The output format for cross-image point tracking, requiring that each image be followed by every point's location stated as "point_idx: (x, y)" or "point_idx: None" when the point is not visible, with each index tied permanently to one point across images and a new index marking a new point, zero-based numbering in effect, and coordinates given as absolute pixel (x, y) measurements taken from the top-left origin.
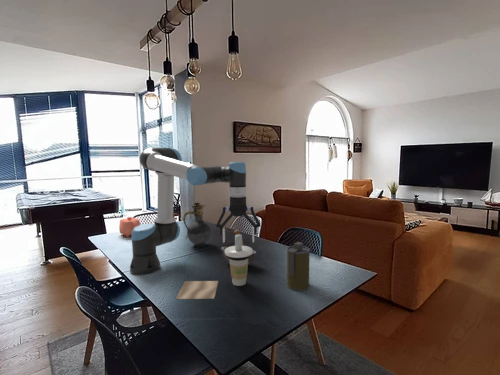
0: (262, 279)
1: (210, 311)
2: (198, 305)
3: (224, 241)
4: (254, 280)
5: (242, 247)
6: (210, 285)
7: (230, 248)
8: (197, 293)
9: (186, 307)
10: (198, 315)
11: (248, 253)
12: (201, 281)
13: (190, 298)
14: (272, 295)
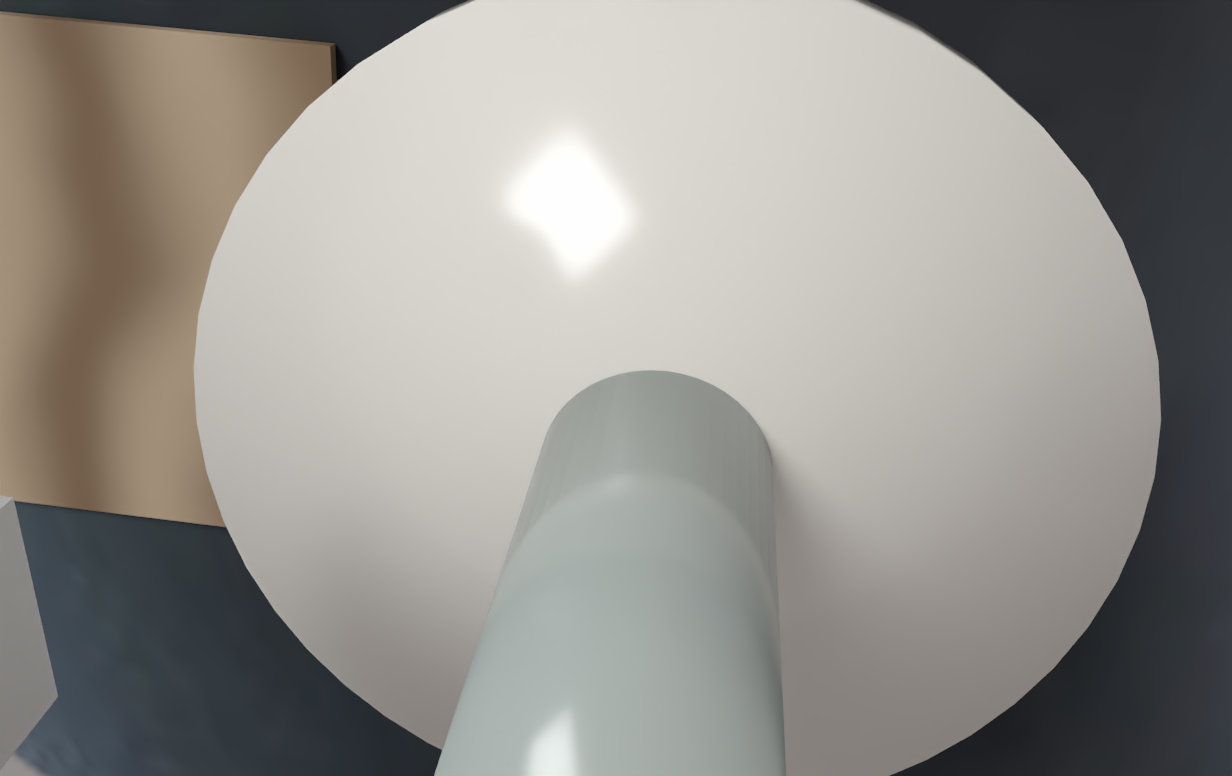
0: (1170, 48)
1: (360, 726)
2: (207, 617)
3: (31, 718)
4: (1000, 72)
5: (822, 237)
6: (230, 202)
7: (368, 285)
8: (110, 402)
9: (91, 630)
10: (257, 760)
11: (923, 758)
12: (39, 35)
13: (66, 503)
14: (1133, 562)
